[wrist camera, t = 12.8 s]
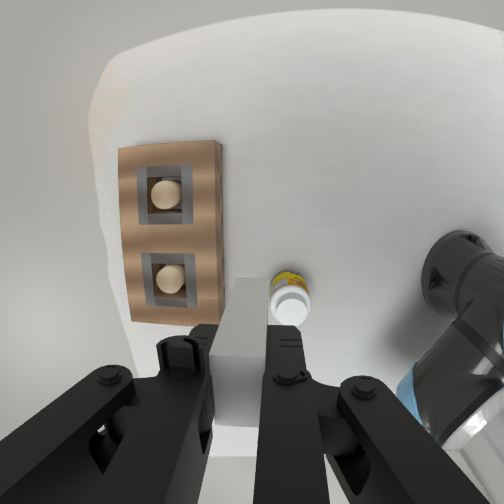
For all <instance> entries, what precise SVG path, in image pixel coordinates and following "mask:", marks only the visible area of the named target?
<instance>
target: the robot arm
mask: <svg viewBox="0 0 504 504" xmlns="http://www.w3.org/2000/svg"><path fill="white" fill-rule="evenodd" d="M268 288H269V279H256V278H236V279H235V282H234V285H233V288H232V291H231V293H230V296H229V299H228V302H227V305H226V307H225V310H224V313H223V316H222V319H221V321H220V324H201V323H200V324H199V325H197V326H196V327H194V328H193V329H192V330H191V331H190V333H189V335H188V336H186V335H181V336H172V337H168V338H165V339H163V340H161V341H160V342H159V343H158V344H157V345H156V347H157V353H158V359H159V365H160V371H159V373H158V375H157V376H155V377H149V378H134V379H133V376H132V373H131V372H130V370H129V369H127V368H126V367H124V366H120V365H106V366H103V367H100V368H98V369H96V370H94V371H93V372H91V373H90V374H89V375H87V376H86V377H85V378H84V379H82V380H81V381H79V382H78V383H77V384H75V385H74V386H73V387H71V388H70V389H69V390H67V391H66V392H65V393H63V394H62V395H61V396H60V397H58V398H57V399H55V400H54V401H53V402H51V403H50V404H49V405H47V406H46V407H45V408H43V409H42V410H41V411H40V412H38V413H37V414H36V415H34V416H33V417H32V418H30V419H29V420H28V421H26V422H25V423H24V424H22V425H21V426H20V427H18V428H17V429H16V430H14V431H13V432H12V433H10V434H9V435H8V436H7V437H5V438H4V439H2V440H1V441H0V504H197V503H198V499H199V494H200V490H201V486H202V481H203V477H204V472H205V468H206V464H207V459H208V455H209V451H210V446H211V442H212V438H213V433H212V422H213V417H214V418H215V425H226V426H241V427H259V434H258V447H257V460H256V473H255V484H254V497H253V504H330V500H329V492H328V484H327V476H326V469H325V461H324V454H326V457H327V460H328V462H329V464H330V465H331V468H332V469H333V472H334V473H335V476H336V478H337V480H338V481H339V484H340V486H341V488H342V490H343V491H344V493H345V495H346V497H347V499H348V501H349V503H350V504H490V503H489V501H488V500H487V499H486V498H485V497H484V496H483V494H482V493H481V492H480V491H479V490H478V489H477V488H476V487H475V485H474V484H473V483H472V482H471V481H470V480H469V478H468V477H467V476H466V475H465V474H464V473H463V472H462V470H461V469H460V468H459V467H458V466H457V465H456V463H454V461H453V460H452V459H451V458H450V457H449V456H448V454H447V453H446V452H445V451H455V452H458V453H459V454H460V455H461V457H462V458H463V460H464V461H465V462H466V464H467V465H468V467H469V468H470V470H471V471H472V473H473V474H474V476H475V477H476V478H477V480H478V481H479V483H480V484H481V486H482V487H483V489H484V490H485V492H486V493H487V495H488V496H489V498H490V500H491V501H492V503H493V504H504V383H503V382H502V381H501V380H502V378H503V376H504V257H501V256H499V255H496V254H495V253H494V252H493V251H492V250H491V249H490V247H489V246H488V245H487V244H486V243H485V242H484V240H483V239H481V238H480V237H479V236H477V235H475V234H472V233H470V232H466V231H455V232H451V233H449V234H447V235H445V236H444V237H443V238H441V239H440V240H439V241H438V242H437V243H436V244H435V245H434V247H433V248H432V249H431V251H430V253H429V254H428V256H427V259H426V261H425V264H424V267H423V272H422V290H423V294H424V297H425V299H426V301H427V302H428V304H429V305H430V306H431V307H432V308H433V309H434V310H436V311H437V312H438V313H440V314H441V315H444V316H447V317H452V318H456V319H455V321H454V322H453V323H452V324H451V325H450V327H449V328H448V329H447V330H446V331H445V333H444V334H443V335H442V336H441V337H440V338H439V339H438V341H437V342H436V343H435V344H434V345H433V346H432V347H431V348H430V349H429V351H428V352H427V353H426V354H425V355H424V356H423V357H422V358H421V359H420V360H419V361H418V362H417V363H415V364H414V365H413V366H412V368H411V370H410V371H409V373H408V374H407V375H406V376H405V377H404V378H403V379H402V380H401V381H400V383H399V384H398V387H397V393H396V396H395V395H394V393H393V392H392V391H391V390H390V389H389V388H388V387H387V386H386V385H385V384H384V383H383V382H382V381H380V380H379V379H376V378H374V377H370V376H363V375H362V376H353V377H350V378H348V379H346V380H344V381H343V382H342V383H341V385H340V387H334V386H328V385H324V384H321V383H319V382H316V381H315V380H313V379H312V376H311V375H310V373H309V371H307V370H306V363H305V357H304V351H303V344H302V338H301V332H300V331H299V330H298V329H297V328H296V327H295V326H294V325H268ZM102 425H104V427H105V429H104V430H103V431H101V432H99V433H98V431H97V430H98V429H100V428H101V427H102ZM323 453H324V454H323Z"/></svg>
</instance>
